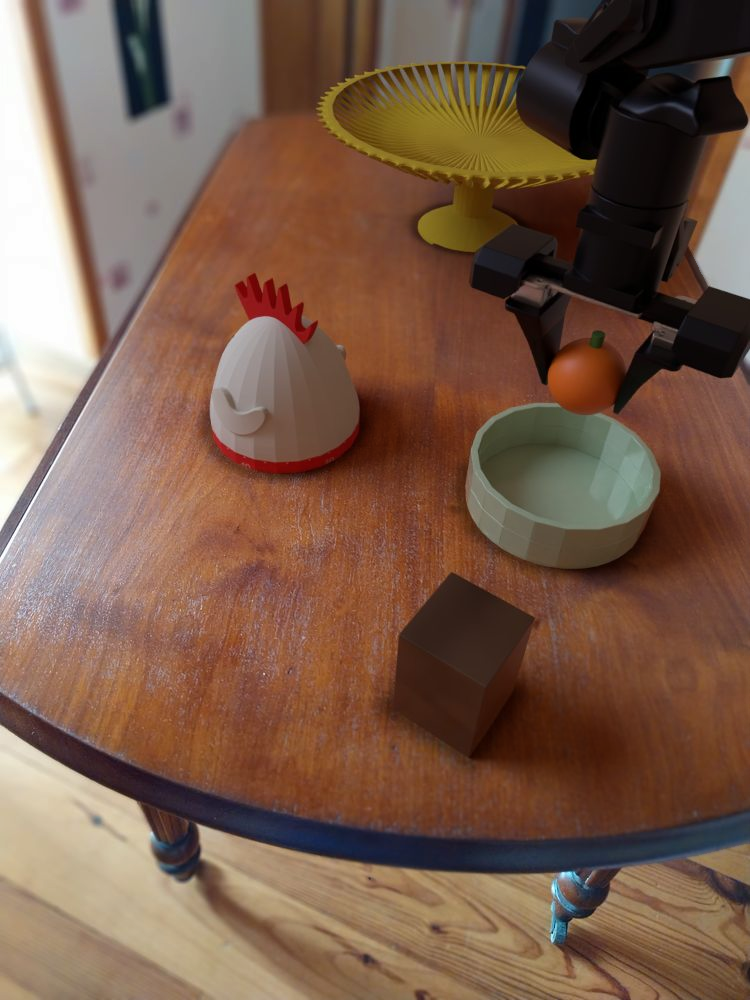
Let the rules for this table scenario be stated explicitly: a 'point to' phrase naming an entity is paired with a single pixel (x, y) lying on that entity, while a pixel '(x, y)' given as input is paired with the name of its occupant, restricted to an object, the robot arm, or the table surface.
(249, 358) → the white chicken figurine
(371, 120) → the yellow pedestal fruit stand
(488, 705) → the block
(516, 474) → the bowl
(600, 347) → the toy orange fruit
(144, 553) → the table surface
